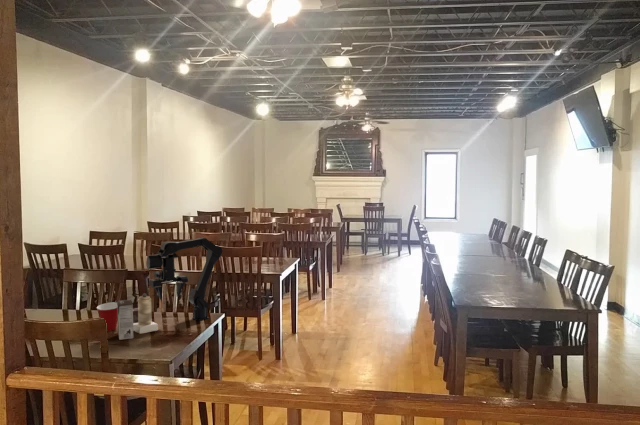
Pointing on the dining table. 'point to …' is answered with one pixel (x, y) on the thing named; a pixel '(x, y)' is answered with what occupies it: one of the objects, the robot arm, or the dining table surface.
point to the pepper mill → (144, 310)
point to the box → (135, 315)
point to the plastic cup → (109, 314)
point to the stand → (145, 327)
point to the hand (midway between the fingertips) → (169, 298)
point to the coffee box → (125, 319)
